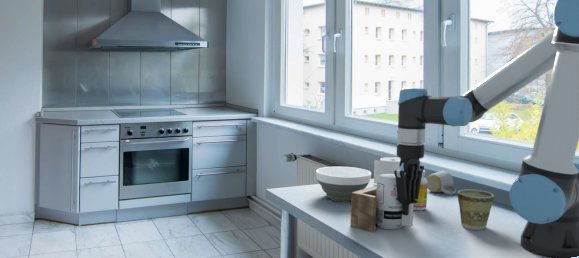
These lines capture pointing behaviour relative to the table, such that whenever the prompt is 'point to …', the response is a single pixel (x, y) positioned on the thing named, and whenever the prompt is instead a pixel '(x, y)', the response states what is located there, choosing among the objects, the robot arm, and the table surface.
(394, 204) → the supplement can
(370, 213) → the wooden bridge block
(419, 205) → the supplement bottle
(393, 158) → the toilet tissue
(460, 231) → the table surface
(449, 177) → the ceramic mug
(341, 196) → the bowl
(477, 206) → the ceramic cup
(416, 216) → the table surface
